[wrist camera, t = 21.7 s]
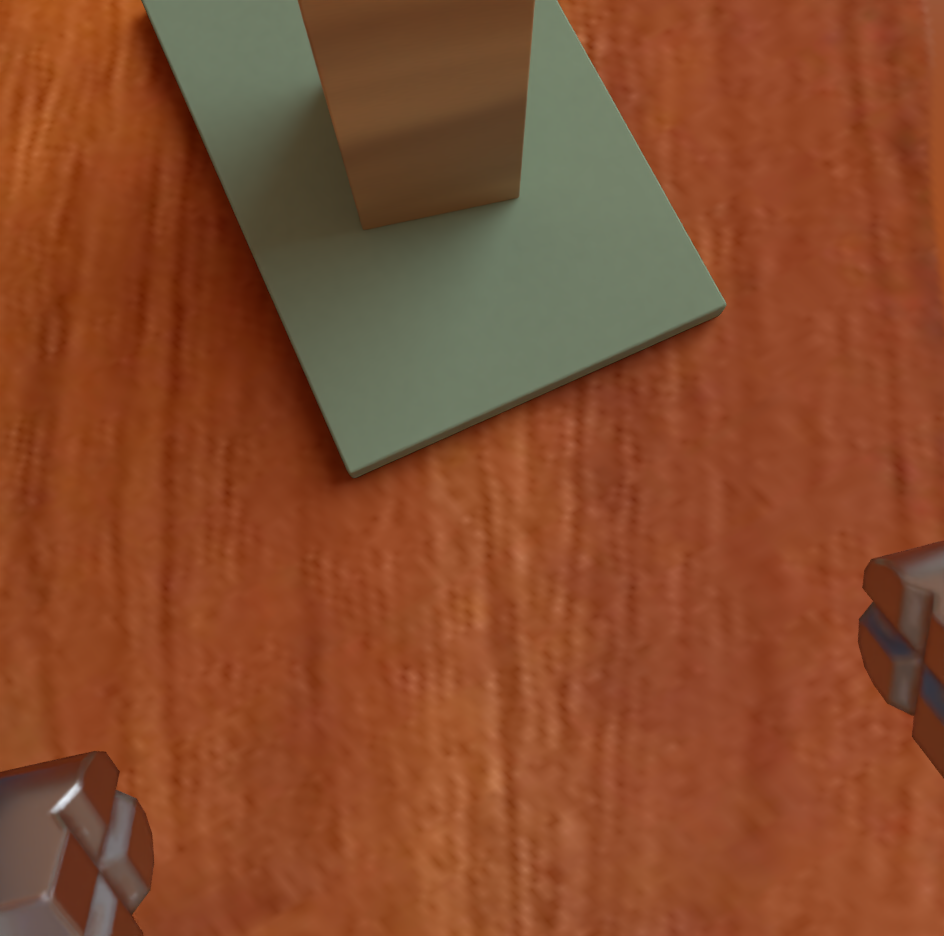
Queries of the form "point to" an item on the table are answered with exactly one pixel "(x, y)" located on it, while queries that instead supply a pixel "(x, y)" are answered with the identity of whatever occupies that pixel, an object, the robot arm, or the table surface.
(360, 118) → the tan block with peg
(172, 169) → the table surface
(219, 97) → the mat
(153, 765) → the table surface
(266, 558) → the table surface
